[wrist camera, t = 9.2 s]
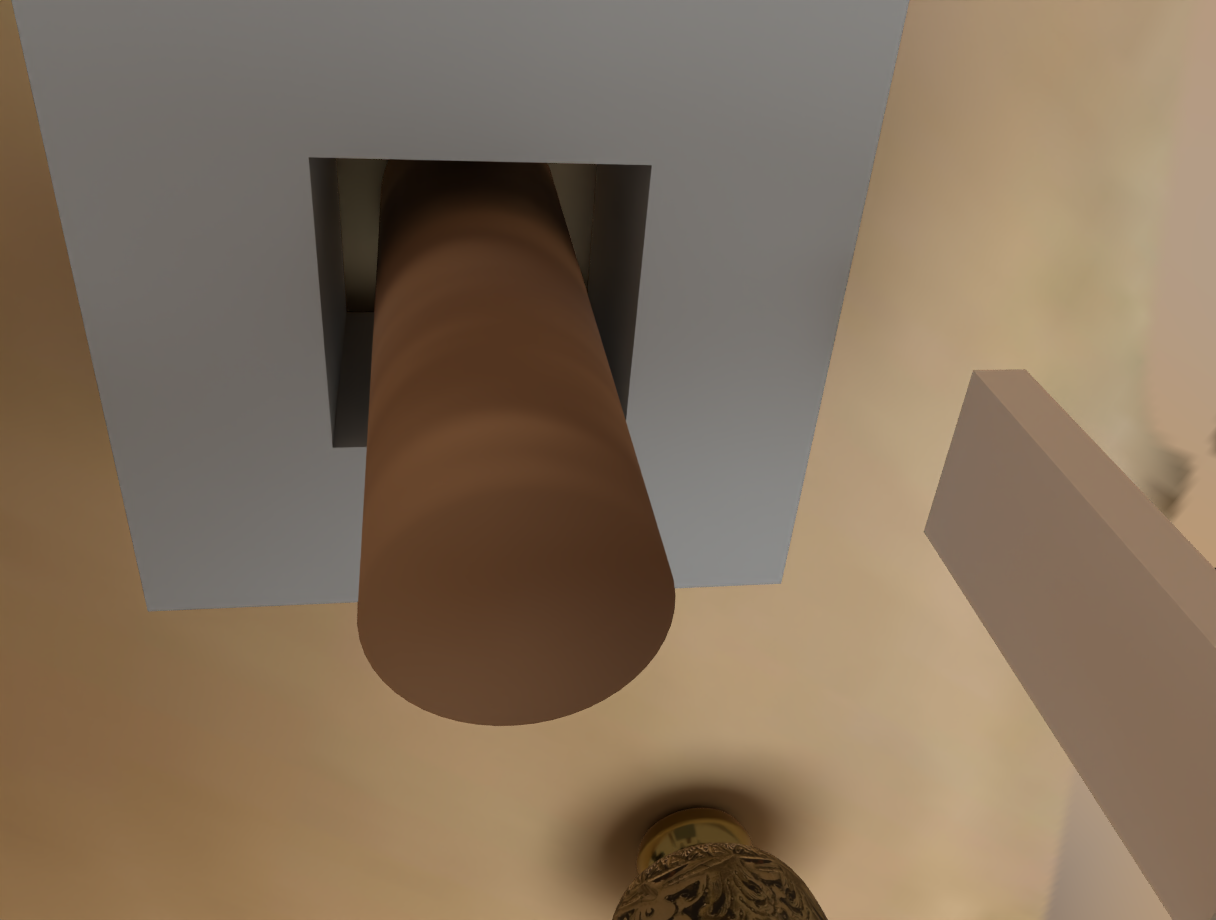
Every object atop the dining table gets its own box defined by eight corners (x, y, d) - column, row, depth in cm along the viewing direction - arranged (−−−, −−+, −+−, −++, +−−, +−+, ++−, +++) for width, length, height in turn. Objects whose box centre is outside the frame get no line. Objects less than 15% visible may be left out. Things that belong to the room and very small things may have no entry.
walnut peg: (384, 277, 22) (364, 734, 12) (377, 109, 20) (347, 493, 10) (550, 279, 22) (658, 716, 13) (559, 116, 21) (693, 484, 11)
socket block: (192, 455, 24) (148, 611, 20) (83, -177, 17) (-20, -139, 13) (722, 444, 26) (780, 583, 22) (815, -125, 19) (926, -79, 15)
